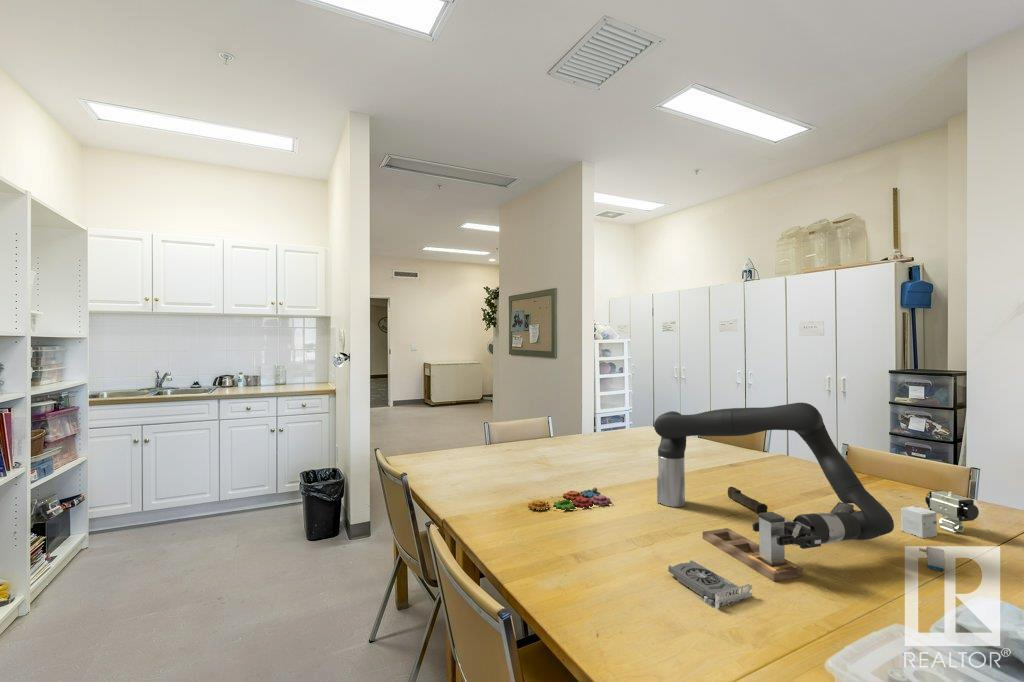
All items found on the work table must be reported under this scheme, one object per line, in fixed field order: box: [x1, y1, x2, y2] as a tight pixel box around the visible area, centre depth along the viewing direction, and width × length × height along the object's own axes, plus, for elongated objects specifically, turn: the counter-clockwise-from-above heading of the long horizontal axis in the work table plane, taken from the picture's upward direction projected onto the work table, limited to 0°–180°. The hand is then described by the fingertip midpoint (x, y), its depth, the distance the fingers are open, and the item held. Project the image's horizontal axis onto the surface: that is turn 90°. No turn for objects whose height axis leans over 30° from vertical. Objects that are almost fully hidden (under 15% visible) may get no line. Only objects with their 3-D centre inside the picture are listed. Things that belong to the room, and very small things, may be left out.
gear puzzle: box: [527, 487, 613, 512], centre depth 169 cm, size 31×16×4 cm, turn 109°
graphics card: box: [667, 560, 753, 611], centre depth 111 cm, size 17×4×12 cm
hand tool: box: [727, 486, 768, 515], centre depth 165 cm, size 19×4×5 cm, turn 7°
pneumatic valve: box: [924, 490, 980, 534], centre depth 141 cm, size 6×12×12 cm, turn 9°
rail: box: [702, 527, 804, 582], centre depth 126 cm, size 26×9×2 cm, turn 16°
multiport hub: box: [829, 501, 855, 514], centre depth 155 cm, size 4×14×2 cm, turn 135°
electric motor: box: [918, 546, 946, 571], centre depth 119 cm, size 7×5×5 cm
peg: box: [757, 511, 786, 567], centre depth 119 cm, size 4×4×14 cm
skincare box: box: [900, 505, 938, 539], centre depth 139 cm, size 6×6×7 cm
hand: (765, 533), depth 118 cm, fingers open, 8 cm apart
